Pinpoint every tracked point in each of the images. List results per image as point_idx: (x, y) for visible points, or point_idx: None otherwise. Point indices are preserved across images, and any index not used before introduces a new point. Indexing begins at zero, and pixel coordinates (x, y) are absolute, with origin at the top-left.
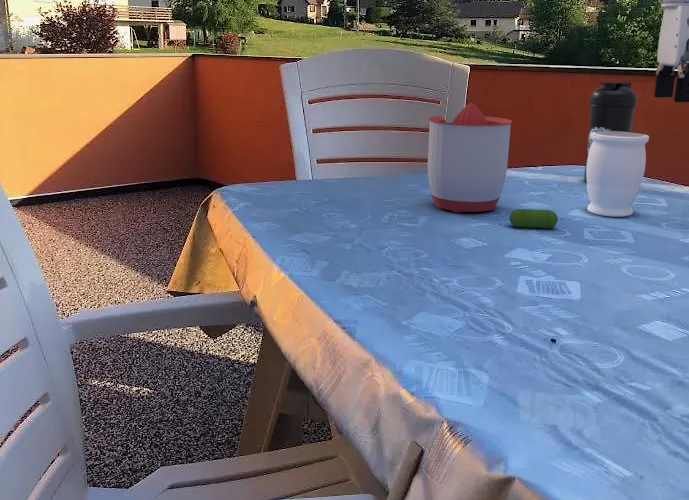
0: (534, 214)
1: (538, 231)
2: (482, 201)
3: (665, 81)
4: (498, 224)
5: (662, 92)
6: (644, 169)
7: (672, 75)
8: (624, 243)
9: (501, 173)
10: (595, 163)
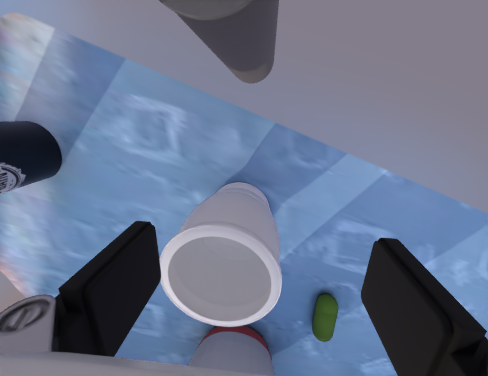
0: (334, 325)
1: (338, 308)
2: (268, 353)
3: (119, 304)
4: (308, 333)
5: (149, 270)
6: (254, 204)
7: (81, 302)
8: None
9: (260, 371)
10: (253, 283)
